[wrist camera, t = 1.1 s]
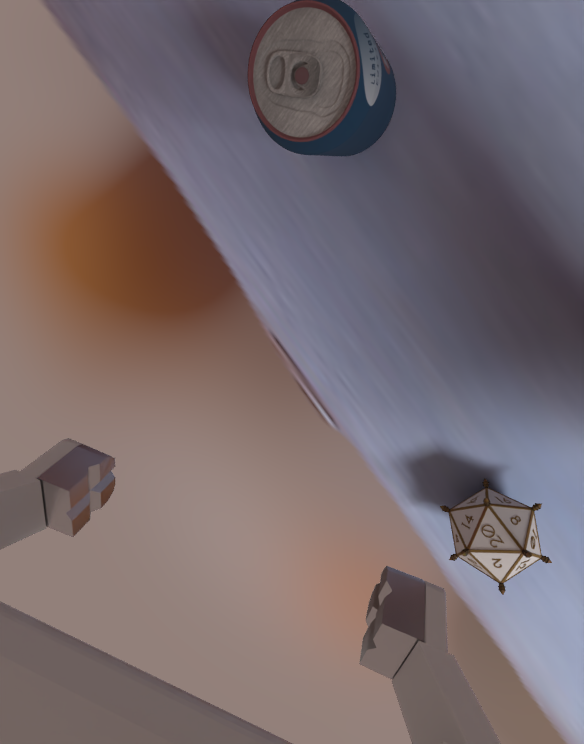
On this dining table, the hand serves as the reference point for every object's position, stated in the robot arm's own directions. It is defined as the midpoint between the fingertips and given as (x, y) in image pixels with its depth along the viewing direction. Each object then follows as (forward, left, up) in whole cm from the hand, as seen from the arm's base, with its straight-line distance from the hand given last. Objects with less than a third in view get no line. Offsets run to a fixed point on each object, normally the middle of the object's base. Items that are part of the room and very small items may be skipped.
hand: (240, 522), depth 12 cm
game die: (-15, +20, -28) cm, 38 cm away
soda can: (+5, -12, -28) cm, 31 cm away
